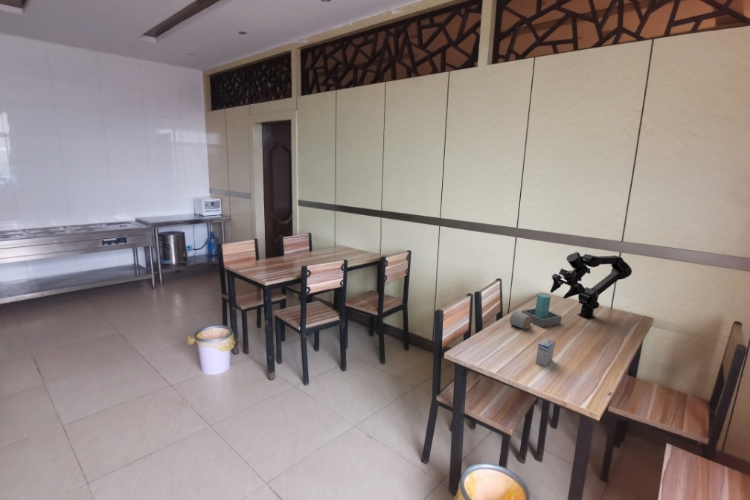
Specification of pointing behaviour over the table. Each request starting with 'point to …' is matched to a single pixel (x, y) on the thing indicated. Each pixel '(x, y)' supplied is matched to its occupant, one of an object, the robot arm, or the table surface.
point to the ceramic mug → (520, 320)
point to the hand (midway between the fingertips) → (557, 295)
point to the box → (550, 321)
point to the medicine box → (545, 352)
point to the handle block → (542, 306)
